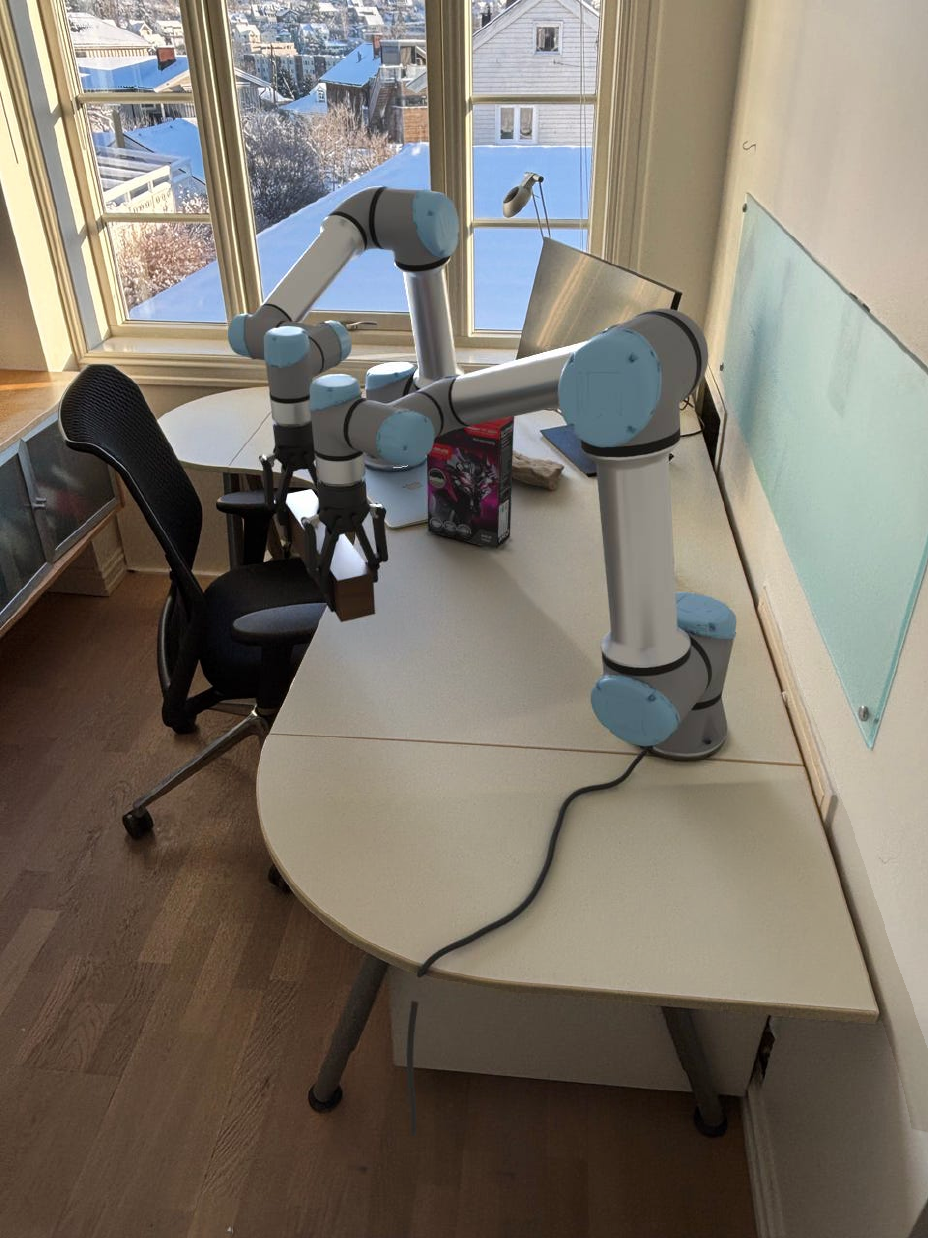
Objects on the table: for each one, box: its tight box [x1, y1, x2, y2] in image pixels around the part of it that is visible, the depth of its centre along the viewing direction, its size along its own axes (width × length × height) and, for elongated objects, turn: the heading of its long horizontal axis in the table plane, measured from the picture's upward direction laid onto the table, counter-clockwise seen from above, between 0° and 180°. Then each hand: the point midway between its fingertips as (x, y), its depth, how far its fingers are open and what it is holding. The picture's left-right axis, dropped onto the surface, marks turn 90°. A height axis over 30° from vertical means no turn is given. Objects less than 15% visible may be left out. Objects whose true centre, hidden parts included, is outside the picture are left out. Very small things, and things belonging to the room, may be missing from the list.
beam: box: [285, 489, 376, 623], centre depth 163 cm, size 34×6×8 cm, turn 25°
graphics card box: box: [426, 416, 516, 550], centre depth 187 cm, size 17×7×27 cm, turn 62°
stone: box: [512, 449, 565, 490], centre depth 217 cm, size 21×15×6 cm
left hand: (305, 535), depth 174 cm, fingers closed on beam, 6 cm apart
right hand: (350, 603), depth 155 cm, fingers closed on beam, 6 cm apart
